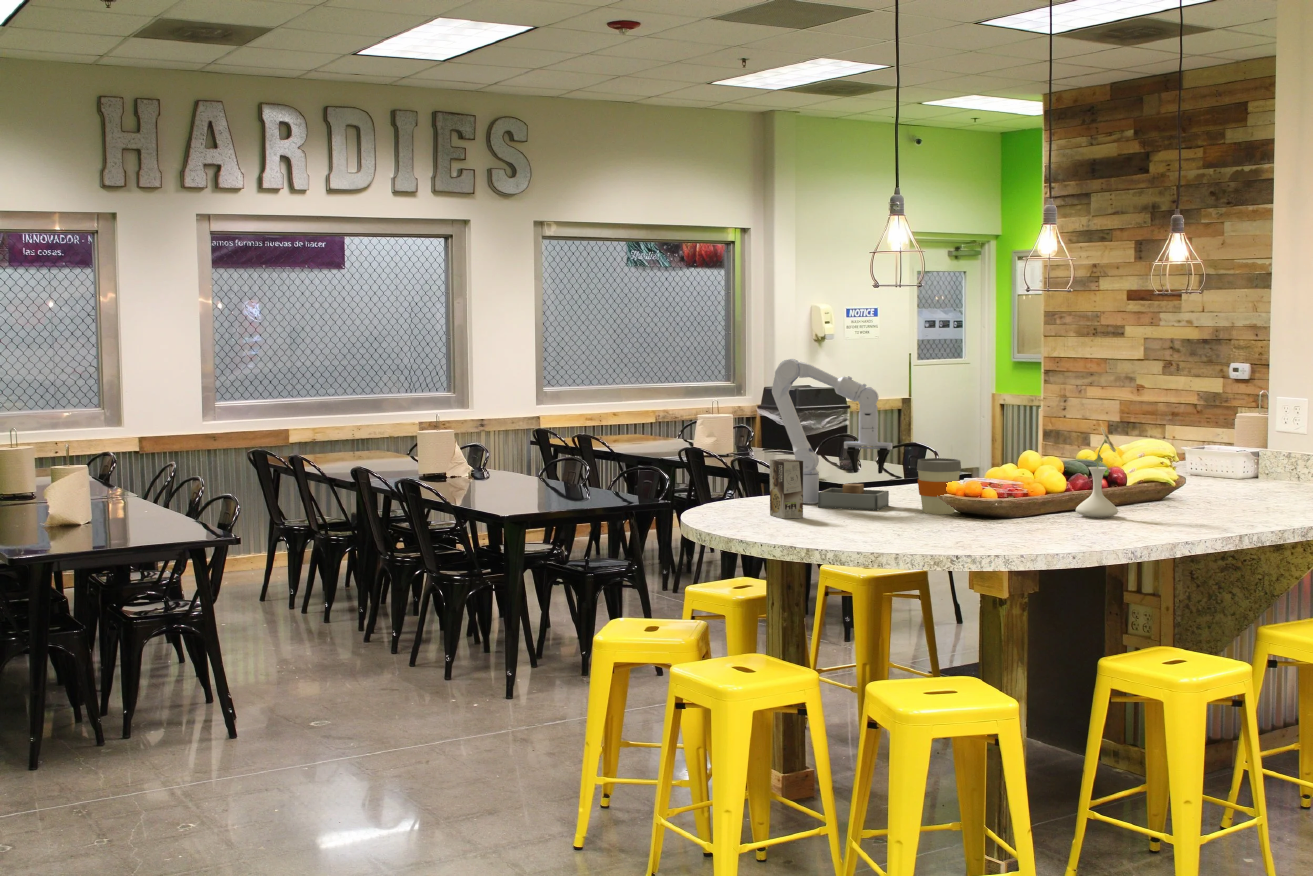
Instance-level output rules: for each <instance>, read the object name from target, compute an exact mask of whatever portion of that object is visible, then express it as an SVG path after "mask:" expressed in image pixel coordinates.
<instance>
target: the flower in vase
mask: <svg viewBox="0 0 1313 876" xmlns="http://www.w3.org/2000/svg"><path fill="white" fill-rule="evenodd" d="M1100 430H1101V433H1102V435H1103V437H1104V440H1103V442H1102V443H1101V445H1100V447H1099V450H1098V452H1097V457H1096V458H1095V459H1094V460H1093V462H1094V463H1095V464H1096V466H1088V470H1089V471H1090V473H1091V476H1092V484H1093V486H1092V493H1091V494H1090V495H1089V497H1087V498H1086V499H1084V500H1083V501H1082V502H1080V504H1078V506H1076V508H1075V513H1077V514H1079V515H1082V516H1083V517H1084V516H1085V517H1089V518H1108V517H1112V516H1113V517H1114V516H1116V515H1118V513H1119V509H1118V508H1117V506H1115V504H1113V502H1111V501H1110V500H1109V499H1108V498H1107V497H1105V496H1104V494H1103V491H1102V489H1103V488H1102V487H1103V485H1102V484H1103V482H1102V481H1103V478H1104V475H1105V472H1106V471H1107V470H1108V467H1104V466H1099V463H1100V462H1101V463H1103V462H1104V461H1103V460H1104V458H1103V457H1102V456H1101V454H1100V452H1101V450H1102V448H1103V446H1104V444H1107V445H1108V446H1109V448H1110V450H1111V451H1112V452H1113V453H1116V451H1117V449H1116V448H1115V445H1114V444H1113V442H1112V441H1111V439H1110V436H1109V434H1108V433H1107V432H1106V430H1105V428H1104V427H1102V426H1101V427H1100Z"/></svg>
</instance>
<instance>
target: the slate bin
mask: <svg viewBox="0 0 1313 876" xmlns="http://www.w3.org/2000/svg"><path fill="white" fill-rule="evenodd" d="M889 492H890V491H889V490H883V489H882V490H881V489H880V490H878V489H864V494H849V493H843V488H838V487H829V488H827V489H824V490H822V491H819V492H818V503H817V507H818V509H819V508H823V509H838V508H842V509H841V510H858V511H859V510H861V511H880V510H881V509H885V508H886V507H889V506H890V505H889V498H890V497H889V495H890V493H889Z"/></svg>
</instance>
